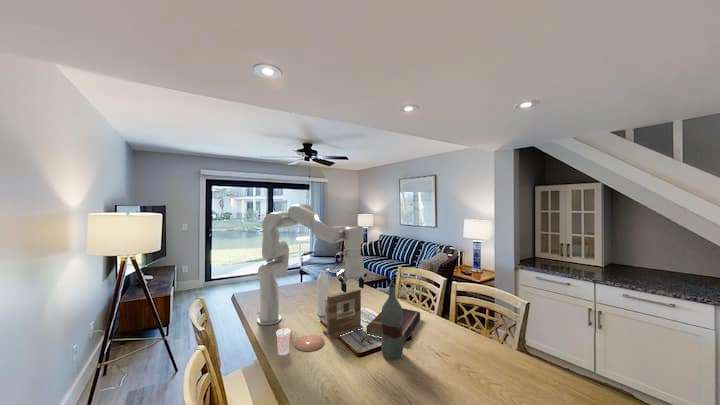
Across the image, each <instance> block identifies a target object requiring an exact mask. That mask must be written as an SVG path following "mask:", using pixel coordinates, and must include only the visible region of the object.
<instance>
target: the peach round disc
mask: <svg viewBox="0 0 720 405" xmlns="http://www.w3.org/2000/svg"><path fill="white" fill-rule="evenodd" d="M324 343H325V338H323V337H322V335H321V336H320V335H318V334H306V335H302V336H300V337H298V338H296V340H295V342H294V346H295V349H297V350H298V351H301V352H314V351H317V350H319V349H320V348H321V347H323V346H324Z"/></svg>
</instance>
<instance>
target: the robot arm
mask: <svg viewBox="0 0 720 405" xmlns="http://www.w3.org/2000/svg"><path fill="white" fill-rule="evenodd" d="M298 224H299V225H302V226H303V227H306V228H307V229H309V230H310V231H311V233H312V234H313V236H315V237H317V238H318V239H320V240H322V241H324V242H325V243H328V244H337V243H340V242H344V251H343V252H342V255H343V257H342V264H341V265H342V266H341V270H340V271H339V272H337V273H336V275H335V276H336V278H337V280H338V281H339V282H340V283H341V284H340V285H341V286H340V289H341V292H342V293H343V292H347V283H346V282H347V281H348V280H354V279H358V287H359V288H361V289H365V288H364V287H365V280H366V277H367V276H368V272H369V269H368V268H366V267H365V264H364V258H363V255H361V254H362V253H361V252H362V251H361V250H362V245H361V244H362V238H361V237H362V235H361V234H362V231H361V227H358V226H346V225H336V226H330V225H328V224H326V223H324V222H322V221H321V215H320V213H317V212H315V211H313V208H312V207H311V205H309V204H306V203H298V204H297V203H296V204H292V205H291V206H289V208H288V210H286V211H285V210H284V211H275V212H274V211H273V212H270V213H269V214H267V215H266V216H265V217H264V218H263V220H262V225H261V227H262V242H261V245H262V246H261V256H262V259H264V260H266V261H267V262H264V263H263V264H261V265H260V266H259V268H258V269H257V278H258V281H259V282H258V283H259V311H257V314H259V317H258V318H257V319H256V322H257V324H258V325H259V326H271V325H272V326H273V325H275V324H278V323H279V322H281V321H282V320H283V319H282V315H281V314H279V311H280V310H279V302H280V301H279V283H278V282H277V278H279V277H281V276H284V275H285V274H286V273H287V272H288V268H289V258H290V248H289V245H288V242H286V241H284V240H282V239H280V231H279V230H278V229H279V228H280V229H281V228H289V227H293V226H295V225H298Z"/></svg>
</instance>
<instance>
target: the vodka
mask: <svg viewBox="0 0 720 405" xmlns="http://www.w3.org/2000/svg"><path fill="white" fill-rule="evenodd" d="M388 286H389V287H388V297H387V299H386V300H385V302H384V304H383V305H382V308H381V311H380V313H381V319H382V331H383V334H382V339H381V343H380V346H381V354H382V357H383V358H384V359H386V360H389V361H397V360H400V359H401V358H402V356H403V351H404V345H403V341H402V323H403V311H402V308H403V307H402V305H401V304H400V302H399V299H397V297H396V284H395V283H389V284H388Z"/></svg>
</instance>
